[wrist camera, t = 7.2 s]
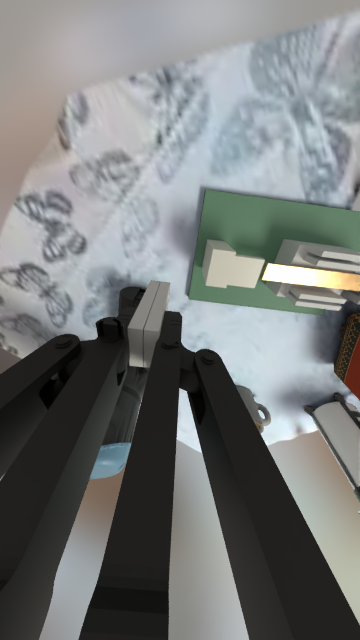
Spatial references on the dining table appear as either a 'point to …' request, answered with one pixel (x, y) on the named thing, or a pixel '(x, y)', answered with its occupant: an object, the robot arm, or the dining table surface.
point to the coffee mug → (254, 408)
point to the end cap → (130, 297)
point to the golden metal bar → (311, 276)
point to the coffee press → (341, 436)
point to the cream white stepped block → (229, 266)
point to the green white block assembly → (278, 249)
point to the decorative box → (350, 354)
